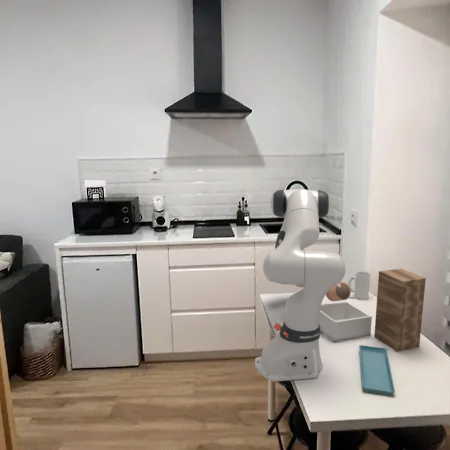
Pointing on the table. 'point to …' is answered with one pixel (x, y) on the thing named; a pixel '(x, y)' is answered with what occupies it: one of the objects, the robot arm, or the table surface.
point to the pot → (339, 292)
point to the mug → (360, 285)
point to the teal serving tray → (376, 370)
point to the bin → (344, 322)
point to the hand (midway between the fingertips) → (330, 265)
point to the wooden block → (399, 309)
